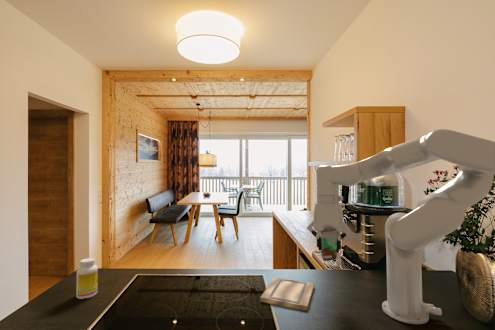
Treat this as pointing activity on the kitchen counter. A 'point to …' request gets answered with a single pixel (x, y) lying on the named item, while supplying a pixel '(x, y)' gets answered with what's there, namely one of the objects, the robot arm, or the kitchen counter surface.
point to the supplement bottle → (87, 279)
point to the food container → (329, 245)
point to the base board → (288, 293)
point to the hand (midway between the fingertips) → (328, 249)
